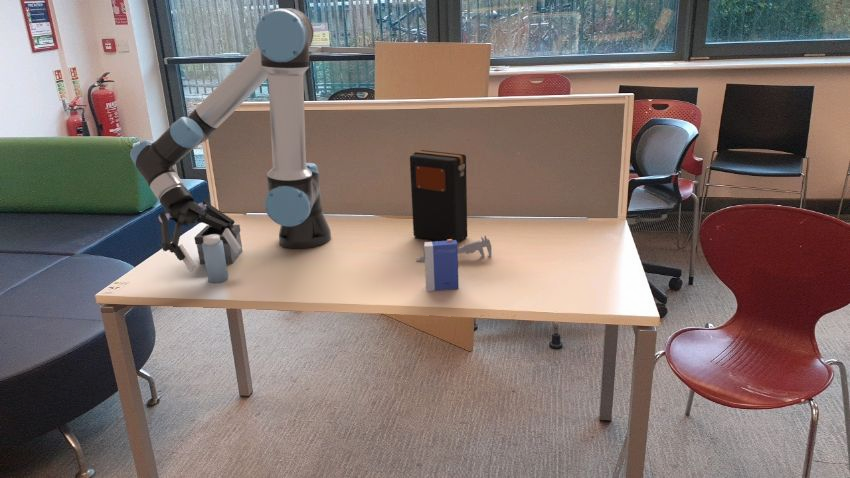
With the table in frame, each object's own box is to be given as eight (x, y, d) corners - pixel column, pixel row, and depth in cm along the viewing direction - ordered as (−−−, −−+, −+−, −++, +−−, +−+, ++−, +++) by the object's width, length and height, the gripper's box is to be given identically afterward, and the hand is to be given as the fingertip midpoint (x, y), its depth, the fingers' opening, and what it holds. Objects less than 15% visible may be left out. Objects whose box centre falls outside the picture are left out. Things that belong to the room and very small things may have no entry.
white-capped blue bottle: (231, 274, 165) (224, 233, 161) (224, 282, 161) (217, 240, 157) (212, 275, 166) (205, 233, 161) (205, 283, 161) (197, 240, 157)
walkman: (456, 284, 155) (455, 238, 150) (458, 289, 152) (457, 242, 148) (425, 286, 154) (423, 240, 150) (426, 291, 151) (424, 245, 147)
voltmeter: (470, 237, 184) (469, 153, 175) (455, 247, 177) (453, 160, 168) (425, 228, 192) (421, 148, 183) (409, 238, 185) (405, 154, 176)
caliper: (490, 256, 171) (490, 234, 168) (491, 257, 170) (491, 236, 167) (415, 261, 170) (414, 239, 167) (415, 262, 169) (414, 241, 166)
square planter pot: (243, 250, 181) (239, 224, 178) (233, 263, 172) (228, 236, 169) (211, 251, 181) (206, 225, 179) (199, 264, 173) (194, 237, 170)
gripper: (209, 190, 175) (250, 251, 172) (123, 215, 157) (168, 284, 153) (217, 174, 170) (260, 236, 167) (129, 198, 152) (176, 268, 149)
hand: (216, 259), depth 160 cm, fingers open, 13 cm apart
